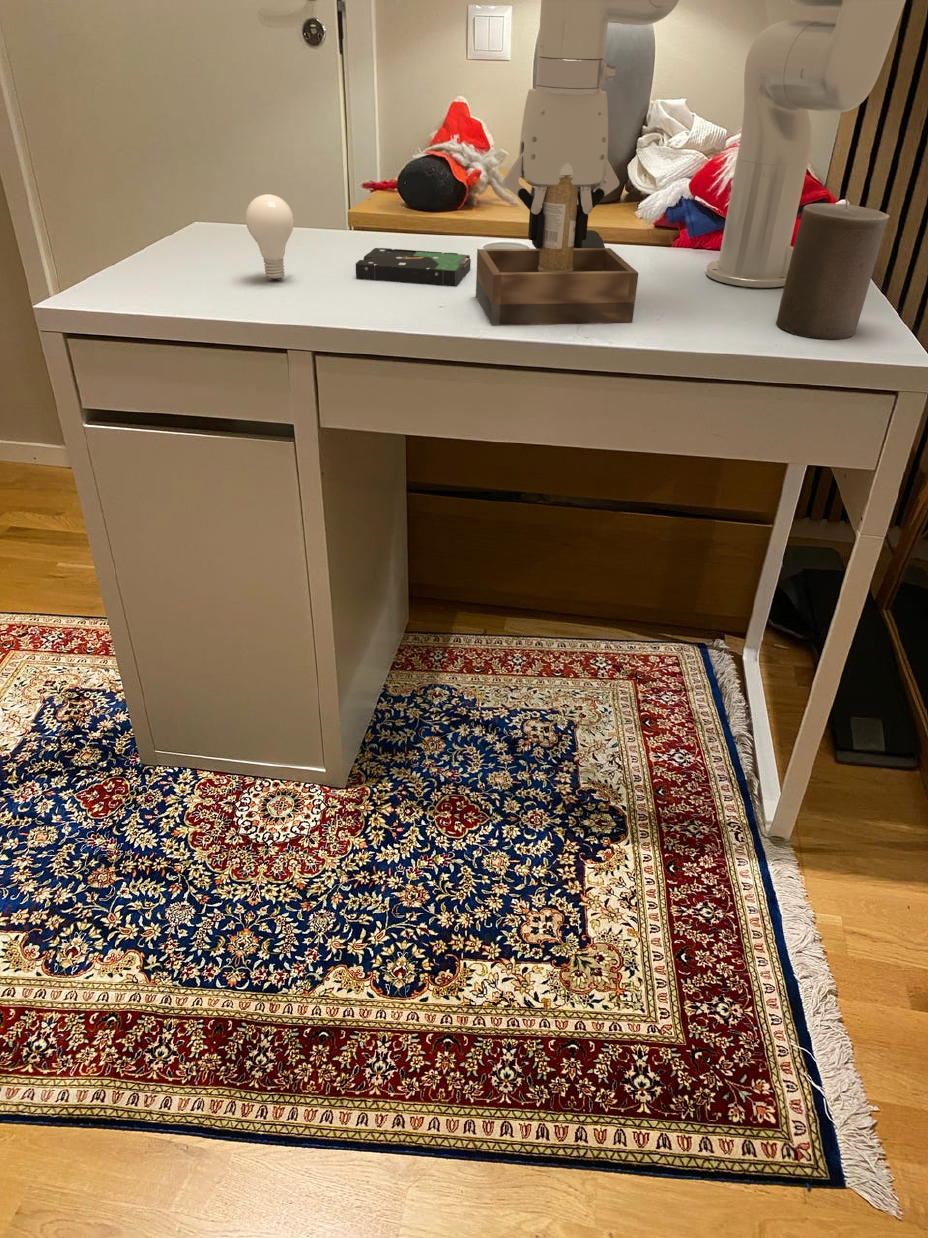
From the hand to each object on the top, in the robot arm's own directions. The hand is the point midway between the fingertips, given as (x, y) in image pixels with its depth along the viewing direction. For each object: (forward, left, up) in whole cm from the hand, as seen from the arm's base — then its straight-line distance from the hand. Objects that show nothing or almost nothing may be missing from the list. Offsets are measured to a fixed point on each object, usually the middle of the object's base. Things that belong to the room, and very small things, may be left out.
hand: (556, 244), depth 112 cm
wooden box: (0, 0, -8) cm, 8 cm away
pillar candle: (-32, +10, -8) cm, 34 cm away
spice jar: (0, 0, -4) cm, 4 cm away
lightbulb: (+36, -16, -8) cm, 40 cm away
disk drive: (+16, -19, -9) cm, 26 cm away
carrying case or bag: (-9, -29, -9) cm, 32 cm away
